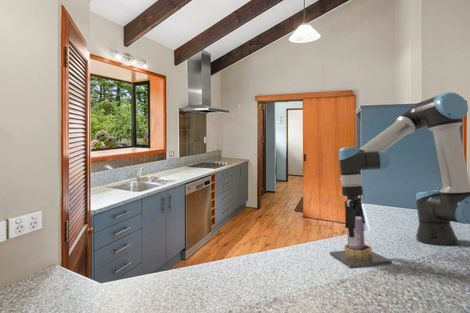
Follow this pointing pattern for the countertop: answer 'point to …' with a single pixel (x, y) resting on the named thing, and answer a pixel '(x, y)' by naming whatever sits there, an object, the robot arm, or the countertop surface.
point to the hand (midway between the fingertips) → (357, 242)
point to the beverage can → (358, 234)
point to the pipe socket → (360, 257)
